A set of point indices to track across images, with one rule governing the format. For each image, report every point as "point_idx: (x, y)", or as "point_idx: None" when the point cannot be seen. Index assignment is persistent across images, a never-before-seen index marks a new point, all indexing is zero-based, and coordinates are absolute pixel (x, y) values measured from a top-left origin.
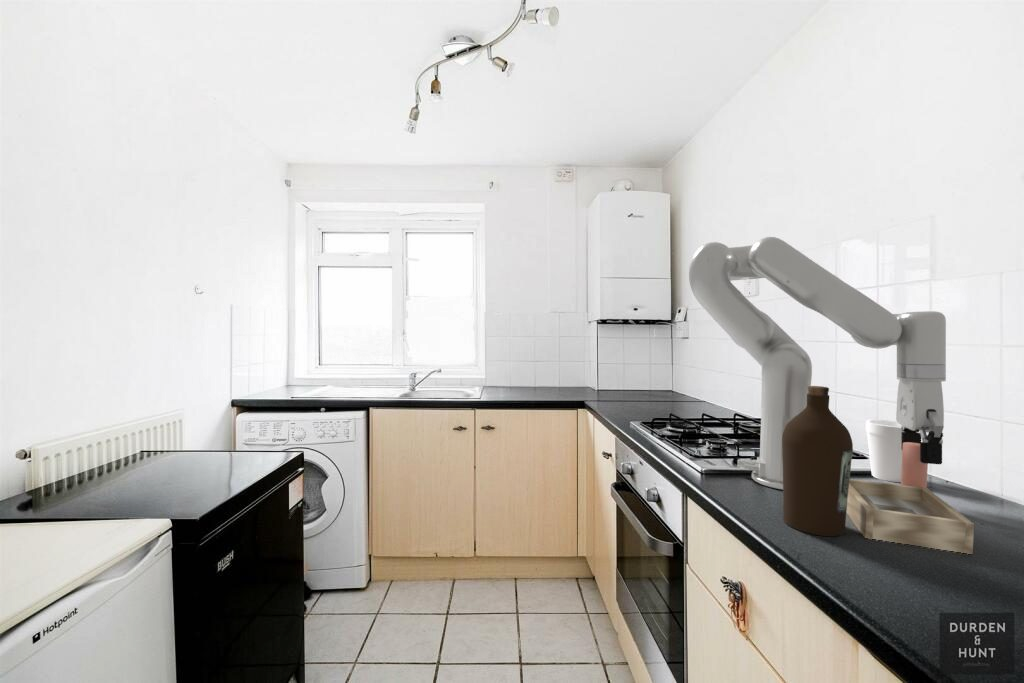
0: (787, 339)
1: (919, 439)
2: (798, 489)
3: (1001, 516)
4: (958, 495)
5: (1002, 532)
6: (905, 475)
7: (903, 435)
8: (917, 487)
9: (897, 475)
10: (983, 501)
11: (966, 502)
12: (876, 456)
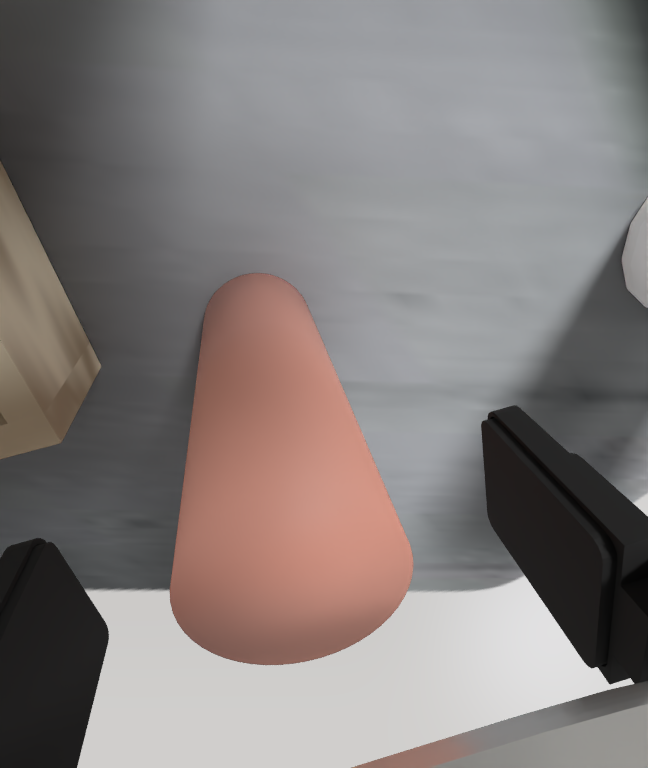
0: None
1: (553, 607)
2: None
3: None
4: None
5: (84, 566)
6: (215, 354)
7: (578, 525)
8: (19, 403)
9: (645, 284)
10: (465, 531)
11: (417, 492)
12: None
